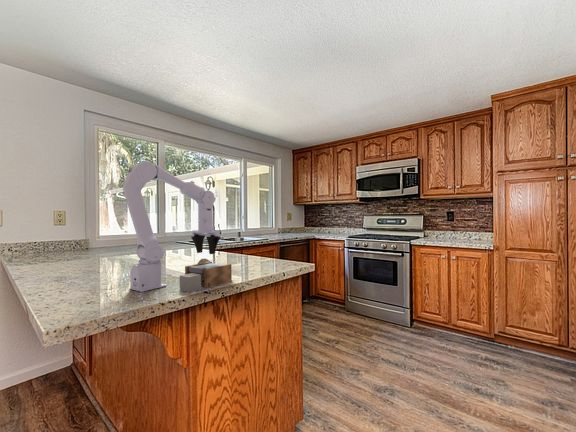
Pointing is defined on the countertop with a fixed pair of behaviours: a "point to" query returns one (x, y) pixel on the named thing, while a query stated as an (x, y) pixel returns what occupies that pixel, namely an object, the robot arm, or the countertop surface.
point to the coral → (203, 261)
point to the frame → (213, 274)
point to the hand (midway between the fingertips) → (205, 253)
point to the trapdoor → (202, 268)
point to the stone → (190, 282)
